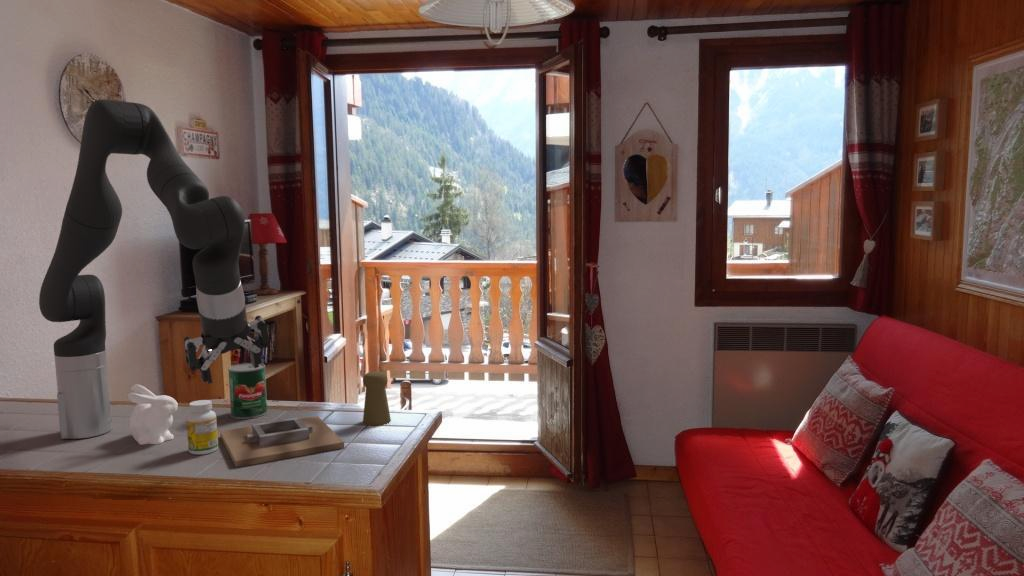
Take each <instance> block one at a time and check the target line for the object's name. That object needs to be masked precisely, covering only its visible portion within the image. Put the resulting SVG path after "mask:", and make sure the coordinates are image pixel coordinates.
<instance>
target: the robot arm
mask: <svg viewBox="0 0 1024 576" xmlns="http://www.w3.org/2000/svg"><path fill="white" fill-rule="evenodd" d="M82 128H83V129H82V134H81V141H80V147H79V154H78V161H77V166H76V171H75V174H74V175H75V176H74V179H73V182H72V187H71V191H70V193H69V197H68V200H67V203H66V206H65V209H64V214H63V217H62V223H61V227H60V232H59V236H58V240H57V243H56V247H55V250H54V254H53V256H52V257H51V258H52V259H51V261H50V263H49V266H48V269H47V271H46V273H45V276H44V278H43V279H42V280H43V281H42V283H41V286H40V290H39V291H40V292H39V296H38V297H39V298H38V302H39V303H38V305H39V306H38V307H39V310H40V313H41V315H42V317H44V319H45V320H46V321H49V322H52V323H67V322H75V321H79V323H78V326H76V328H74V329H73V330H71V332H68V333H67V334H66V335H64V336H62V337H59V338H58V339H56V340H55V341H54V342H53V355H54V366H55V367H54V368H55V376H56V387H57V393H56V400H57V410H58V419H59V420H58V421H59V422H58V423H59V432H60V439H61V440H67V439H68V440H69V439H73V440H76V439H77V440H79V439H88V438H93V437H97V436H101V435H105V434H107V433H109V432H110V431H112V429H113V423H112V422H113V421H112V413H111V410H112V409H111V401H110V400H111V397H110V388H109V387H110V386H109V385H110V384H109V375H108V365H107V364H108V362H107V351H106V337H107V325H106V296H105V295H106V294H105V289H104V285H103V283H102V281H101V279H100V278H99V277H98V276H96V275H95V274H80V273H81V272H82V271H83V270H84V269H85V268H87V266H88V265H90V263H92V262H93V261H94V260H95V259H97V258H98V257H99V256H100V255H101V254H102V253H104V252H105V251H106V250H107V249H108V248H110V246H111V244H112V243H113V242H114V240H115V237H116V235H117V233H118V230H119V226H120V223H121V221H122V220H121V219H122V216H123V206H122V203H121V200H120V198H119V196H118V193H117V192H116V190H115V188H114V186H113V185H112V183H111V182H110V180H109V177H108V174H107V171H106V165H107V161H108V157H109V156H111V154H112V155H113V154H119V155H131V156H132V155H143V156H145V157H147V158H148V159H150V160H149V162H148V164H147V169H146V180H147V183H148V185H149V187H150V189H151V191H152V192H153V194H155V196H156V197H157V199H158V200H160V202H161V203H162V205H163V206H165V208H166V210H167V211H168V213H169V216H170V219H171V221H172V226H173V231H174V234H175V237H176V238H177V240H178V241H179V242H180V244H181V245H183V247H185V248H188V249H190V250H199V251H198V252H197V253H195V255H194V257H193V258H192V270H193V271H192V272H193V275H194V280H195V286H196V287H195V288H196V291H195V292H196V295H195V296H196V297H195V298H196V303H197V309H198V314H199V320H200V325H201V326H200V327H201V335H200V336H198V337H195V338H191V336H186V337H184V339H183V345H184V346H183V347H184V354H185V362H186V364H187V366H188V368H189V371H191V372H195V371H196V370H199V375H200V378H201V379H202V381H203V383H207V385H210V384H212V383H213V379H212V374H211V368H210V366H211V364H212V363H213V362H215V361H216V360H217V358H218V357H219V355H220V354H221V355H224V354H226V353H228V352H230V351H236V350H238V349H240V347H242V348H244V349H247V351H249V357H250V358H249V359H250V363H252V365H253V366H254V368H257V367H259V365H258V364H261V363H262V356H261V351H262V350H263V349H264V348H265V349H266V348H269V347H270V346H271V341H270V337H269V331H268V327H267V323H266V321H265V320H264V318H263V317H262V316H261V315H257V316H255V318H254V320H252V321H249V322H248V315H247V308H246V307H247V306H246V297H245V294H244V289H243V285H242V282H241V281H242V280H241V274H240V265H239V260H240V254H241V249H242V245H243V240H244V236H245V230H246V219H245V218H246V217H245V214H244V210H243V209H242V207H241V205H240V203H239V202H237V200H236V199H234V198H232V196H229V195H228V196H226V195H219V196H216V197H212V198H210V191H209V190H208V187H207V185H205V183H204V182H203V181H202V180H201V179H200V177H199V176H197V174H195V172H194V171H193V170H192V169H191V168H190V167H189V166H188V165H187V164H186V162H185V161H184V159H182V157H181V155H180V154H179V151H177V148H176V146H175V145H174V143H173V141H172V139H171V136H170V135H169V133H168V132H167V130H166V128H165V127H164V124H163V123H162V121H161V119H160V118H159V117H158V115H157V114H156V112H155V111H154V110H153V109H152V108H151V107H150V106H147V105H145V104H142V103H137V102H131V101H130V102H129V101H121V100H111V99H96V100H94V101H93V102H91V103H90V105H89V106H88V109H87V111H86V114H85V116H84V121H83V127H82ZM252 330H254V331H255V332H256V333H257V336H258V339H256V340H255V339H253V338H251V337H250V336H249V334H250V333H251V331H252ZM201 345H203V346H202V349H201V353H200V354H199V356H198V357H197V352H199V349H200V346H201Z"/></svg>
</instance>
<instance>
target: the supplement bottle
mask: <svg viewBox="0 0 1024 576" xmlns="http://www.w3.org/2000/svg"><path fill="white" fill-rule="evenodd" d="M212 403H213V402H212V400H210V399H209V400H208V399H200V400H194V401H191V402H190V403H189V404H188V405H189V406H188V407H189V408H188V409H189V412H190V413H188V414H187V416H186V420H185V421H186V428H187V429H186V431H187V432H186V433H187V447H188V453H190V454H192V455H196V456H198V455H199V456H201V455H208V454H211V453H212V454H213V453H214V452H216V451H217V450H218V448H219V438H218V437H219V436H218V435H219V434H218V424H217V423H218V422H217V414H216V412H215V411H214V410H212V409H213V404H212Z"/></svg>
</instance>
